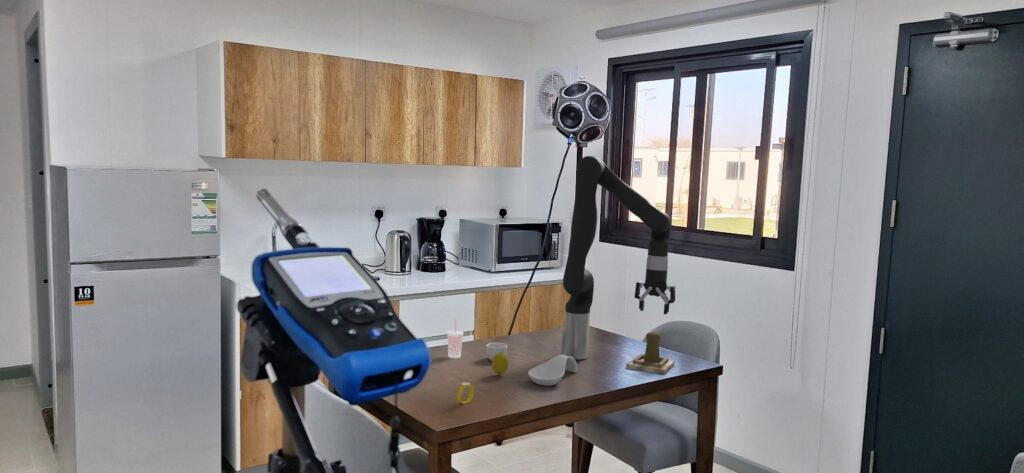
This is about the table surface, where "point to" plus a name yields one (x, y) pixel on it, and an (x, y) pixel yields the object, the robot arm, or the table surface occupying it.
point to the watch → (463, 385)
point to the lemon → (500, 363)
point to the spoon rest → (552, 370)
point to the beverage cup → (454, 343)
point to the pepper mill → (652, 348)
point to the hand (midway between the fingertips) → (653, 312)
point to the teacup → (495, 349)
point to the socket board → (650, 364)
